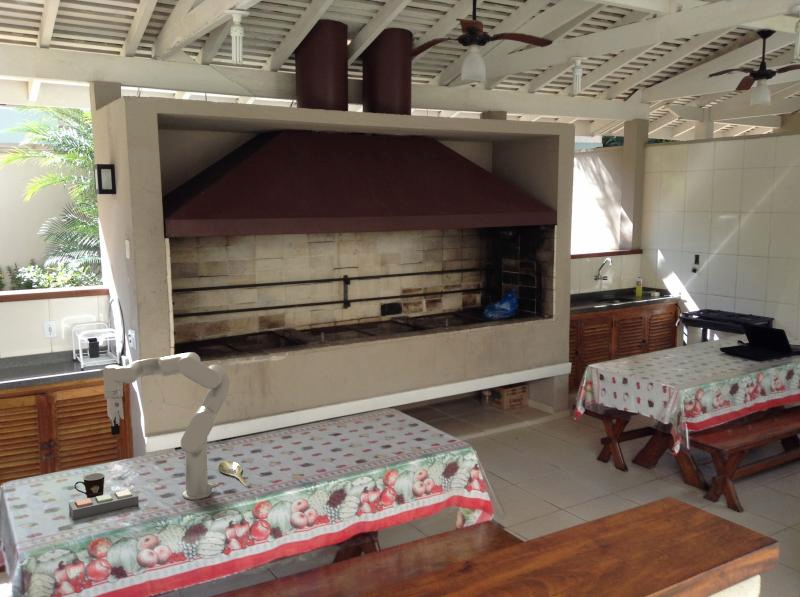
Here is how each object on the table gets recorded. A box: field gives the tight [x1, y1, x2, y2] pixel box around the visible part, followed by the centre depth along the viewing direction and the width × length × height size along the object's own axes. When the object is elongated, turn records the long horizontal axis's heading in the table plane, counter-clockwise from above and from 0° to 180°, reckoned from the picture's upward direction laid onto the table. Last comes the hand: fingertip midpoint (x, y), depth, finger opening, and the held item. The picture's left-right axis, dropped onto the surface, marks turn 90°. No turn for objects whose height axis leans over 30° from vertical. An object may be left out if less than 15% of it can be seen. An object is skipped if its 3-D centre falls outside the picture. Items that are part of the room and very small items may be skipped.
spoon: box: [217, 460, 248, 485], centre depth 342 cm, size 35×11×2 cm, turn 33°
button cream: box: [114, 489, 132, 499], centre depth 308 cm, size 5×5×4 cm
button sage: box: [96, 493, 112, 503], centre depth 304 cm, size 5×5×4 cm
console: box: [68, 488, 140, 521], centre depth 304 cm, size 26×9×4 cm, turn 124°
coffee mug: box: [74, 472, 105, 499], centre depth 315 cm, size 12×9×10 cm
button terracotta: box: [75, 497, 92, 508], centre depth 299 cm, size 5×5×4 cm
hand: (115, 434), depth 313 cm, fingers closed
